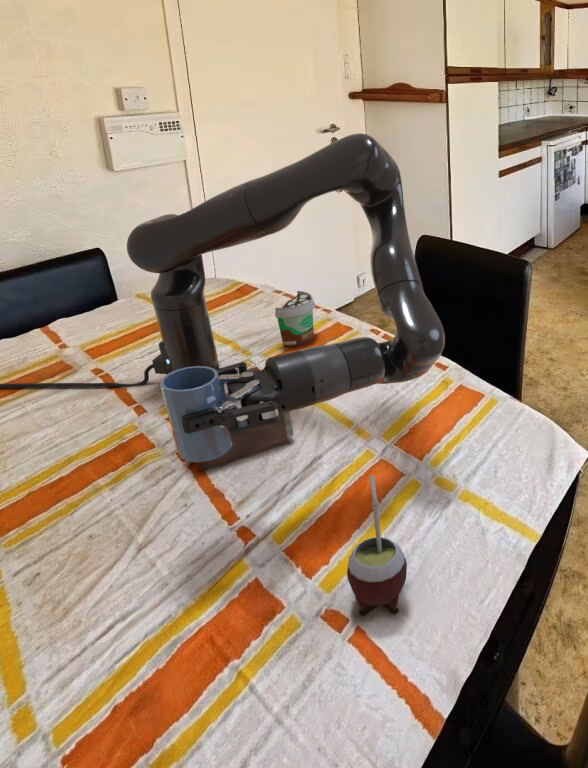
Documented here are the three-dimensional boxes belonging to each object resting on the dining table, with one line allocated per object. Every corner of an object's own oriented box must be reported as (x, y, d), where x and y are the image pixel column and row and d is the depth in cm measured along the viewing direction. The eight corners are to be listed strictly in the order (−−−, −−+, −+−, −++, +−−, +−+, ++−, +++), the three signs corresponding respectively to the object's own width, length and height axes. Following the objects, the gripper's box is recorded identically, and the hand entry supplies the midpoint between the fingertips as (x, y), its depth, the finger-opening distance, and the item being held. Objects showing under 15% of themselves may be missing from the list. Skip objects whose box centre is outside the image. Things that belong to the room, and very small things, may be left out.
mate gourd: (377, 633, 72) (367, 535, 65) (335, 598, 77) (321, 503, 70) (422, 596, 77) (418, 500, 70) (380, 565, 82) (372, 473, 75)
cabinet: (265, 412, 116) (257, 366, 112) (288, 443, 107) (280, 395, 103) (183, 436, 109) (170, 388, 105) (200, 471, 100) (188, 421, 96)
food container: (306, 352, 139) (300, 310, 135) (280, 350, 140) (274, 308, 136) (327, 331, 150) (322, 291, 145) (303, 329, 151) (298, 289, 146)
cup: (168, 460, 77) (149, 389, 72) (194, 432, 82) (177, 364, 77) (218, 464, 76) (201, 392, 71) (240, 435, 81) (227, 367, 77)
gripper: (286, 332, 87) (157, 362, 78) (326, 372, 76) (182, 411, 68) (293, 380, 90) (170, 413, 82) (332, 424, 80) (196, 467, 72)
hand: (176, 412), depth 75 cm, fingers closed on cup, 6 cm apart
